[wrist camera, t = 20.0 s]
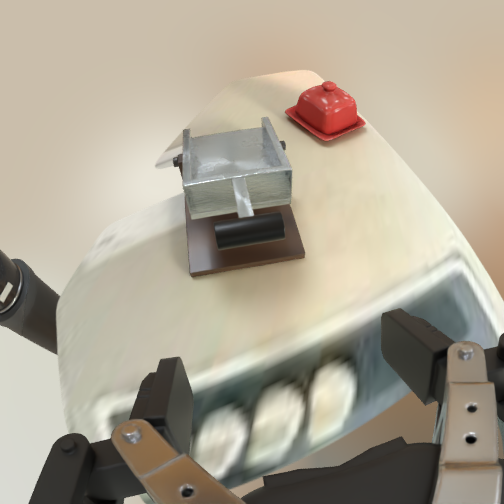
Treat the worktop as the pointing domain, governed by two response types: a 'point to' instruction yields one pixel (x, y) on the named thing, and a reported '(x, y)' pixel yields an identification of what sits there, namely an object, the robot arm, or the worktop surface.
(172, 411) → the robot arm
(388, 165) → the worktop surface
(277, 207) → the stand
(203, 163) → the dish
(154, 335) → the worktop surface
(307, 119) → the butter dish
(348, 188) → the worktop surface
